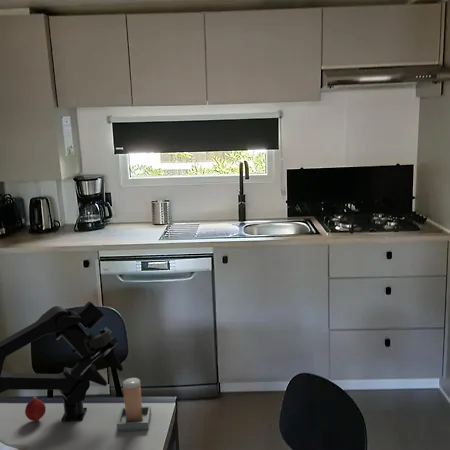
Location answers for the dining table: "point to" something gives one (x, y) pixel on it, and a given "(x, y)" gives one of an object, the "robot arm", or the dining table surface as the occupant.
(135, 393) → the brown cylinder grey top
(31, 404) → the onion
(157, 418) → the dining table surface
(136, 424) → the tray
